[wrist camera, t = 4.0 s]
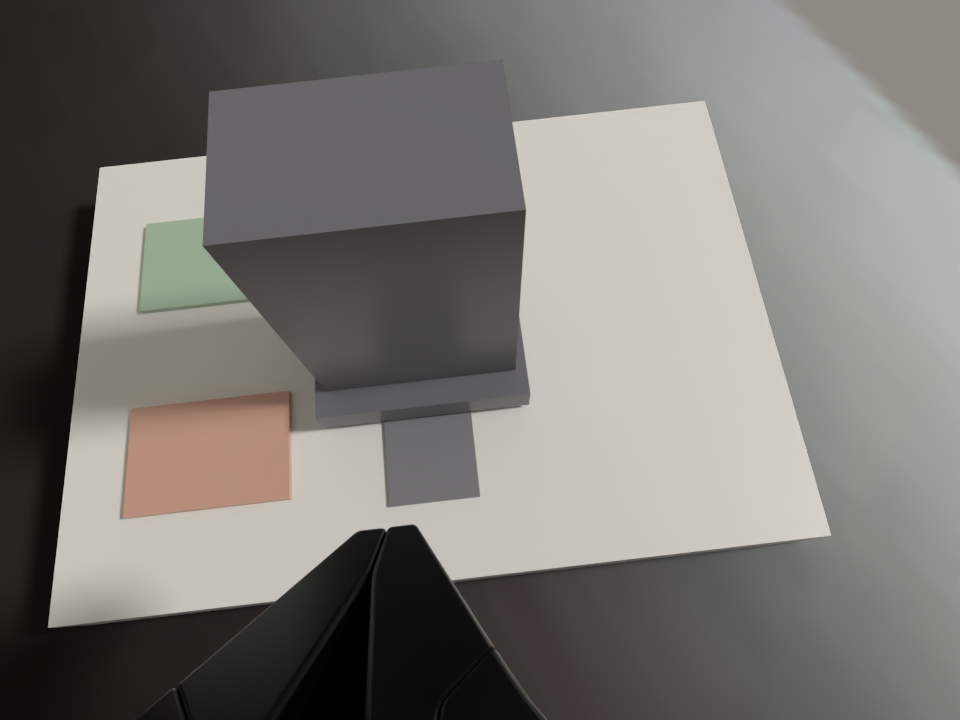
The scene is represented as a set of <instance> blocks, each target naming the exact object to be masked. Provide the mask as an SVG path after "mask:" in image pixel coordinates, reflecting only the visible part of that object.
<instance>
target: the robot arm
mask: <svg viewBox="0 0 960 720" xmlns="http://www.w3.org/2000/svg"><path fill="white" fill-rule="evenodd" d="M177 690H178V691H177ZM135 720H548V719H547V718H546V717H545V716H544V715H543V713H542V712H541V711H540V710H539V709H538V707H537V706H536V705H535V704H534V703H533V701H532V700H531V699H530V698H529V696H528V695H527V693H526V692H525V691H524V689H523V688H522V686H521V685H520V684H519V682H518V681H517V679H516V678H515V677H514V675H513V674H512V672H511V671H510V669H509V668H508V666H507V665H506V663H505V662H504V660H503V659H502V657H501V655H500V654H499V652H498V651H496V650H495V647H494V646H493V644H492V643H491V641H490V640H489V638H488V636H487V635H486V633H485V632H484V630H483V629H482V627H481V625H480V624H479V622H478V621H477V619H476V618H475V616H474V615H473V613H472V611H471V610H470V608H469V607H468V605H467V604H466V602H465V600H464V599H463V597H462V596H461V594H460V593H459V591H458V589H457V588H456V586H455V585H454V583H453V582H452V580H451V579H450V577H449V575H448V574H447V572H446V571H445V569H444V568H443V566H442V564H441V563H440V561H439V560H438V558H437V557H436V555H435V553H434V552H433V550H432V549H431V547H430V546H429V544H428V543H427V541H426V539H425V538H424V536H423V535H422V533H421V532H420V530H419V528H418V527H417V526H416V525H414V524H411V525H403V526H395V527H390V528H389V529H388V530H387V531H386V530H385V529H383V528H378V529H369V530H360V531H358V532H356V533H355V534H353V535H352V536H351V537H350V538H349V539H348V540H346V541H345V542H344V543H343V544H342V545H341V546H339V547H338V548H337V549H336V550H335V551H334V552H332V553H331V554H330V555H329V556H328V557H327V558H325V559H324V560H323V561H322V562H321V563H320V564H318V565H317V566H316V567H315V568H314V569H313V570H311V571H310V572H309V573H308V574H307V575H306V576H304V577H303V578H302V579H301V580H300V581H299V582H297V583H296V584H295V585H294V586H293V587H292V588H290V589H289V590H288V591H287V592H286V593H284V594H283V595H282V596H281V597H280V598H279V599H277V600H276V601H275V602H274V603H273V604H272V605H270V606H269V607H268V608H267V609H266V610H265V611H263V612H262V613H261V614H260V615H259V616H258V617H256V618H255V619H254V620H253V621H252V622H251V623H249V624H248V625H247V626H246V627H245V628H244V629H242V630H241V631H240V632H239V633H238V634H237V635H235V636H234V637H233V638H232V639H231V640H230V641H228V642H227V643H226V644H225V645H224V646H223V647H221V648H220V649H219V650H218V651H217V652H216V653H214V654H213V655H212V656H211V657H210V658H209V659H207V660H206V661H205V662H204V663H203V664H202V665H200V666H199V667H198V668H197V669H196V670H195V671H193V672H192V673H191V674H190V675H189V676H188V677H186V678H185V679H184V680H183V681H182V682H181V683H179V684H178V686H177V689H171V690H170V691H168V692H167V693H166V694H165V695H164V696H162V697H161V698H160V699H159V700H158V701H157V702H155V703H154V704H153V705H152V706H151V707H150V708H148V709H147V710H146V711H145V712H144V713H143V714H141V715H140V716H139V717H138V718H136V719H135Z"/></svg>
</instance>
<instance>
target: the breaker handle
mask: <svg viewBox="0 0 960 720" xmlns="http://www.w3.org/2000/svg"><path fill="white" fill-rule="evenodd" d="M525 219H526V206H525V200H524V193H523V187H522V181H521V174H520V168H519V162H518V155H517V149H516V143H515V137H514V130H513V124H512V118H511V111H510V105H509V99H508V92H507V86H506V80H505V73H504V67H503V61H502V60H495V61H486V62H477V63H468V64H459V65H450V66H441V67H432V68H422V69H413V70H404V71H395V72H386V73H377V74H368V75H359V76H350V77H340V78H331V79H322V80H313V81H304V82H295V83H286V84H277V85H268V86H258V87H249V88H240V89H231V90H222V91H213V92H209V112H208V135H207V157H206V180H205V202H204V225H203V247H204V248H205V249H206V251H207V252H208V253H209V254H210V255H211V257H212V258H213V259H214V260H215V261H216V262H217V264H218V265H219V266H220V267H221V268H222V269H223V271H224V272H225V273H226V274H227V275H228V276H229V278H230V279H231V280H232V281H233V282H234V284H235V285H236V286H237V287H238V288H239V289H240V291H241V292H242V293H243V294H244V295H245V296H246V298H247V299H248V300H249V301H250V302H251V304H252V305H253V306H254V307H255V308H256V309H257V311H258V312H259V313H260V314H261V315H262V316H263V318H264V319H265V320H266V321H267V322H268V324H269V325H270V326H271V327H272V328H273V329H274V331H275V332H276V333H277V334H278V335H279V336H280V338H281V339H282V340H283V341H284V342H285V344H286V345H287V346H288V347H289V348H290V349H291V351H292V352H293V353H294V354H295V355H296V356H297V358H298V359H299V360H300V361H301V362H302V363H303V365H304V366H305V367H306V368H307V369H308V371H309V372H310V373H311V374H312V375H313V376H314V378H315V409H316V419H317V420H318V421H319V422H320V423H321V424H322V425H323V426H324V427H325V428H331V427H340V426H349V425H357V424H366V423H375V422H383V421H392V420H401V419H409V418H418V417H427V416H435V415H444V414H453V413H461V412H470V411H479V410H487V409H496V408H505V407H513V406H522V405H529V400H530V388H529V381H528V374H527V367H526V360H525V353H524V346H523V339H522V332H521V325H520V318H519V309H520V294H521V279H522V264H523V249H524V234H525Z"/></svg>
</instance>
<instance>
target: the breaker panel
mask: <svg viewBox="0 0 960 720" xmlns="http://www.w3.org/2000/svg"><path fill="white" fill-rule="evenodd" d="M512 124H513V130H514V137H515V143H516V149H517V155H518V162H519V168H520V174H521V181H522V187H523V193H524V200H525V206H526V219H525V234H524V249H523V264H522V279H521V294H520V309H519V318H520V325H521V332H522V339H523V346H524V353H525V360H526V367H527V374H528V381H529V388H530V400H529V405H522V406H513V407H505V408H496V409H487V410H479V411H470V412H461V413H453V414H444V415H435V416H427V417H418V418H409V419H401V420H392V421H383V422H375V423H366V424H357V425H349V426H340V427H331V428H325V427H324V426H323V425H322V424H321V423H320V422H319V421H318V420H317V419H316V409H315V378H314V376H313V375H312V374H311V373H310V372H309V371H308V369H307V368H306V367H305V366H304V365H303V363H302V362H301V361H300V360H299V359H298V358H297V356H296V355H295V354H294V353H293V352H292V351H291V349H290V348H289V347H288V346H287V345H286V344H285V342H284V341H283V340H282V339H281V338H280V336H279V335H278V334H277V333H276V332H275V331H274V329H273V328H272V327H271V326H270V325H269V324H268V322H267V321H266V320H265V319H264V318H263V316H262V315H261V314H260V313H259V312H258V311H257V309H256V308H255V307H254V306H253V305H252V304H251V302H250V301H249V300H248V299H247V298H246V296H245V295H244V294H243V293H242V292H241V291H240V289H239V288H238V287H237V286H236V285H235V284H234V282H233V281H232V280H231V279H230V278H229V276H228V275H227V274H226V273H225V272H224V271H223V269H222V268H221V267H220V266H219V265H218V264H217V262H216V261H215V260H214V259H213V258H212V257H211V255H210V254H209V253H208V252H207V251H206V249H205V248H204V247H203V225H204V202H205V180H206V157H207V156H202V157H193V158H184V159H175V160H166V161H157V162H148V163H139V164H130V165H121V166H112V167H103V168H100V171H99V180H98V189H97V198H96V207H95V216H94V225H93V233H92V242H91V251H90V260H89V269H88V278H87V286H86V295H85V304H84V313H83V322H82V331H81V339H80V348H79V357H78V366H77V375H76V384H75V393H74V401H73V410H72V419H71V428H70V437H69V446H68V454H67V463H66V472H65V481H64V490H63V499H62V507H61V516H60V525H59V534H58V543H57V552H56V561H55V569H54V578H53V587H52V596H51V605H50V614H49V622H48V628H54V627H68V626H82V625H96V624H104V623H113V622H121V621H130V620H138V619H147V618H155V617H164V616H172V615H181V614H189V613H198V612H206V611H215V610H223V609H231V608H240V607H248V606H257V605H265V604H273V603H274V602H275V601H276V600H277V599H279V598H280V597H281V596H282V595H283V594H284V593H286V592H287V591H288V590H289V589H290V588H292V587H293V586H294V585H295V584H296V583H297V582H299V581H300V580H301V579H302V578H303V577H304V576H306V575H307V574H308V573H309V572H310V571H311V570H313V569H314V568H315V567H316V566H317V565H318V564H320V563H321V562H322V561H323V560H324V559H325V558H327V557H328V556H329V555H330V554H331V553H332V552H334V551H335V550H336V549H337V548H338V547H339V546H341V545H342V544H343V543H344V542H345V541H346V540H348V539H349V538H350V537H351V536H352V535H353V534H355V533H356V532H358V531H360V530H369V529H378V528H383V529H385V530H386V531H387V530H388V529H389V528H390V527H395V526H403V525H411V524H414V525H416V526H417V527H418V528H419V530H420V532H421V533H422V535H423V536H424V538H425V539H426V541H427V543H428V544H429V546H430V547H431V549H432V550H433V552H434V553H435V555H436V557H437V558H438V560H439V561H440V563H441V564H442V566H443V568H444V569H445V571H446V572H447V574H448V575H449V577H450V579H451V580H452V582H460V581H469V580H477V579H486V578H494V577H503V576H511V575H520V574H528V573H537V572H545V571H554V570H562V569H571V568H579V567H588V566H596V565H605V564H613V563H622V562H630V561H639V560H647V559H656V558H664V557H672V556H681V555H689V554H698V553H706V552H715V551H723V550H732V549H740V548H749V547H757V546H766V545H774V544H783V543H791V542H799V541H804V540H810V539H815V538H821V537H826V536H831V533H830V529H829V526H828V523H827V519H826V516H825V512H824V509H823V505H822V502H821V499H820V495H819V492H818V488H817V485H816V481H815V478H814V475H813V471H812V468H811V464H810V461H809V457H808V454H807V450H806V447H805V444H804V440H803V437H802V433H801V430H800V426H799V423H798V420H797V416H796V413H795V409H794V406H793V402H792V399H791V395H790V392H789V389H788V385H787V382H786V378H785V375H784V371H783V368H782V365H781V361H780V358H779V354H778V351H777V347H776V344H775V341H774V337H773V334H772V330H771V327H770V323H769V320H768V316H767V313H766V310H765V306H764V303H763V299H762V296H761V292H760V289H759V286H758V282H757V279H756V275H755V272H754V268H753V265H752V261H751V258H750V255H749V251H748V248H747V244H746V241H745V237H744V234H743V231H742V227H741V224H740V220H739V217H738V213H737V210H736V206H735V203H734V200H733V196H732V193H731V189H730V186H729V182H728V179H727V176H726V172H725V169H724V165H723V162H722V158H721V155H720V152H719V148H718V145H717V141H716V138H715V134H714V131H713V127H712V124H711V121H710V117H709V114H708V110H707V107H706V103H705V101H699V102H690V103H681V104H672V105H663V106H654V107H645V108H636V109H627V110H618V111H609V112H600V113H591V114H582V115H573V116H564V117H554V118H545V119H536V120H527V121H518V122H512Z"/></svg>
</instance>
